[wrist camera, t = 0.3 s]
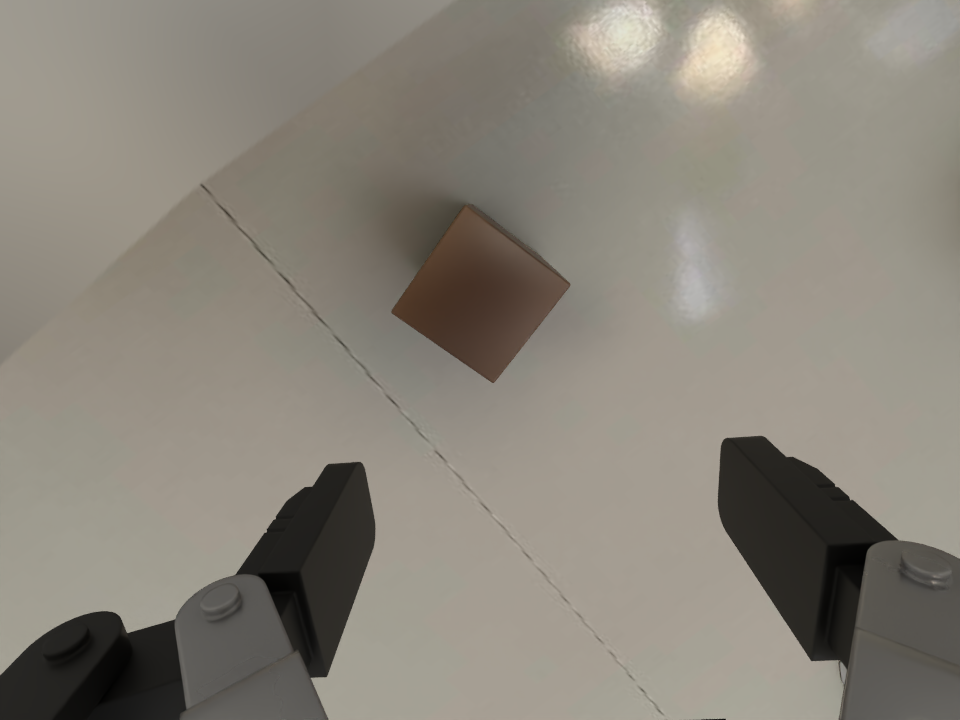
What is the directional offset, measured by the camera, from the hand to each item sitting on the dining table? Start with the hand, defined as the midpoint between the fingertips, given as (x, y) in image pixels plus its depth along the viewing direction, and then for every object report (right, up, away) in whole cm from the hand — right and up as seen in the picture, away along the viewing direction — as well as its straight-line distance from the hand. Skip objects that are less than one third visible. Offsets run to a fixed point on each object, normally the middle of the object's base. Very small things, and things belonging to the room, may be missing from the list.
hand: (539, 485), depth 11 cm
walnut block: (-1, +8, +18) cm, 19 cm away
